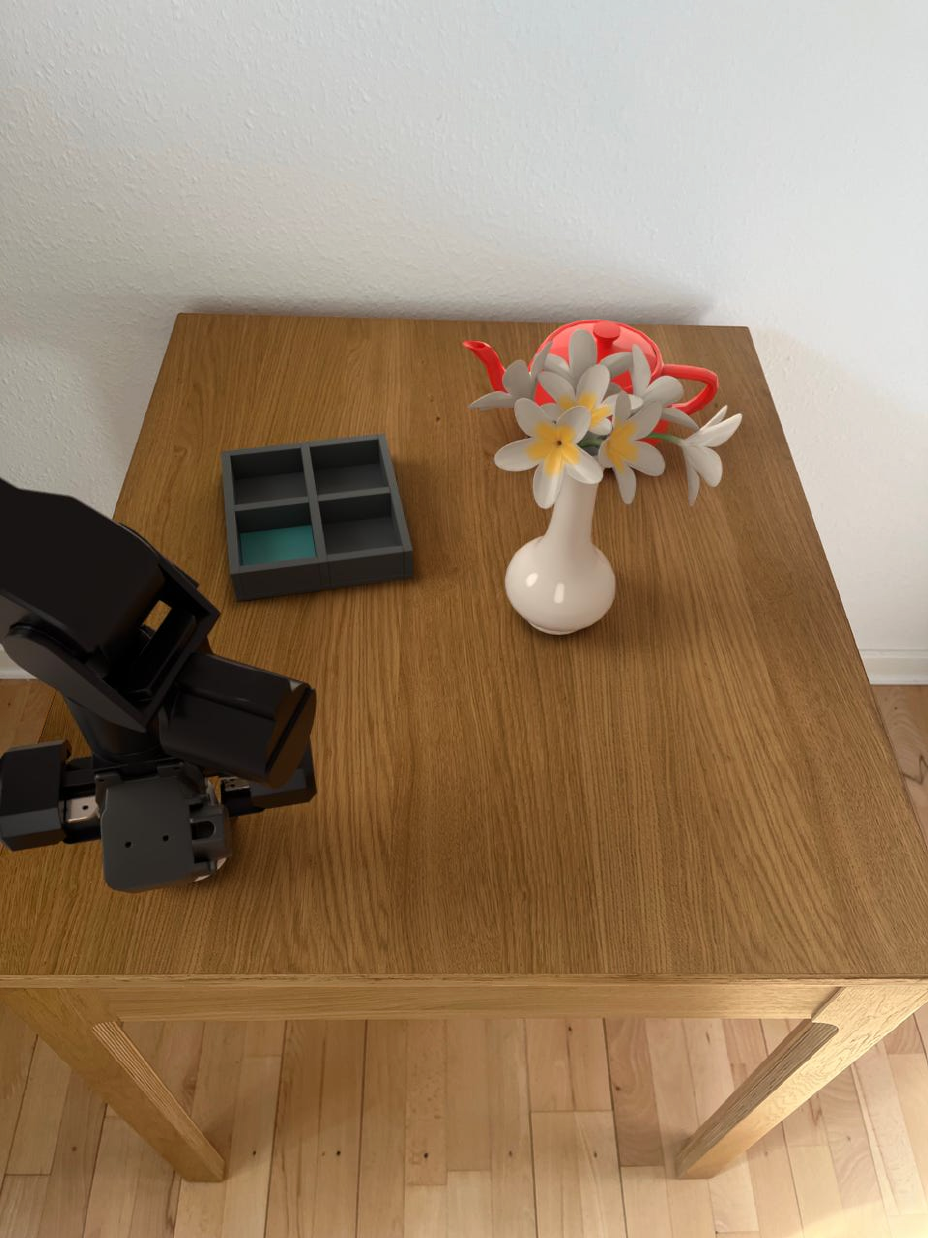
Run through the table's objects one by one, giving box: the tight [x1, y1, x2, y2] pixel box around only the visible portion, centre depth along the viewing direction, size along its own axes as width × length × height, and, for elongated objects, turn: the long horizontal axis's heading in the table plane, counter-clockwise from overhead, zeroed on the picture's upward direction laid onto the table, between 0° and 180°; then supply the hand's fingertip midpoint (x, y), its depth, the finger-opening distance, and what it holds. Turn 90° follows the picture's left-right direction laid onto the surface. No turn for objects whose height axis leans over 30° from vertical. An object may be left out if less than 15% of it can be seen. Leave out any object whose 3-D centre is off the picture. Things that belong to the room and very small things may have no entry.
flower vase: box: [467, 329, 743, 636], centre depth 72 cm, size 13×18×25 cm
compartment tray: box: [220, 433, 414, 602], centre depth 85 cm, size 15×15×4 cm
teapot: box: [461, 319, 720, 448], centre depth 92 cm, size 25×16×12 cm, turn 86°
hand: (186, 833), depth 65 cm, fingers closed on pill bottle, 5 cm apart
